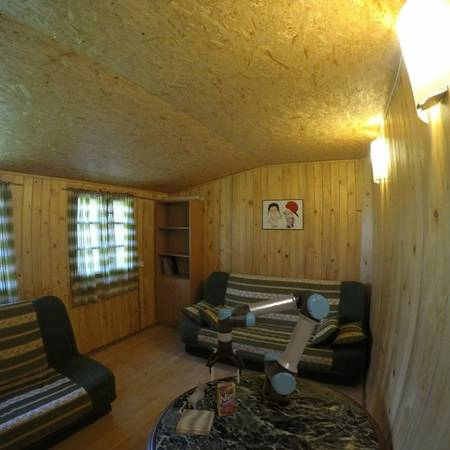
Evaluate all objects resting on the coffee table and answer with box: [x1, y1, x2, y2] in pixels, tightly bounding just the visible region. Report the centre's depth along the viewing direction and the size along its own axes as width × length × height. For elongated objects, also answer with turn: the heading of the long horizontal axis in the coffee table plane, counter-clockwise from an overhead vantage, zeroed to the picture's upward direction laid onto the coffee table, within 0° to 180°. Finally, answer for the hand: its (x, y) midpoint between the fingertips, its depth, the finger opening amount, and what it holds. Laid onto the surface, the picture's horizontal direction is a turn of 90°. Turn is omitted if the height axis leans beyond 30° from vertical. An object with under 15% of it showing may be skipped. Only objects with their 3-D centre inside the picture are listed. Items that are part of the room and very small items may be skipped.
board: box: [175, 408, 215, 436], centre depth 134 cm, size 16×14×2 cm
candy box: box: [216, 380, 236, 418], centre depth 141 cm, size 9×4×15 cm, turn 103°
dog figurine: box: [187, 381, 207, 410], centre depth 149 cm, size 5×13×11 cm, turn 147°
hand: (225, 380), depth 142 cm, fingers open, 13 cm apart
